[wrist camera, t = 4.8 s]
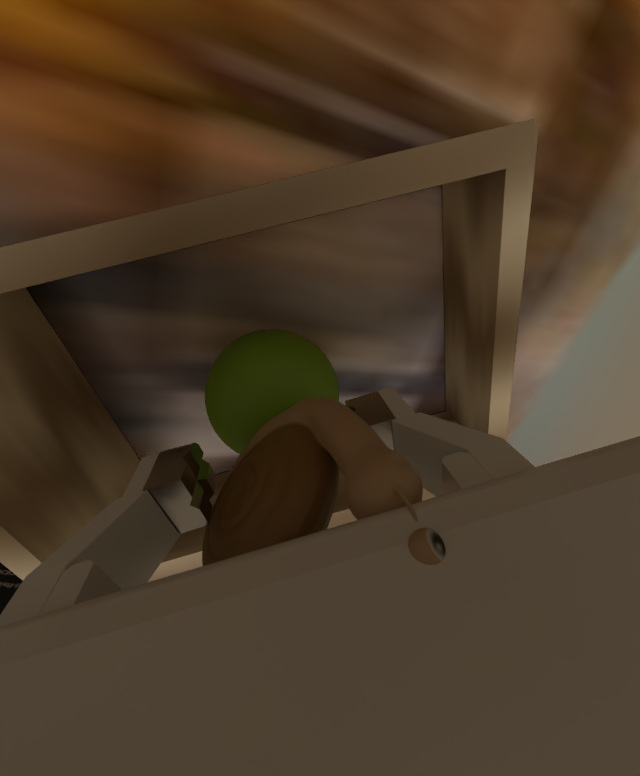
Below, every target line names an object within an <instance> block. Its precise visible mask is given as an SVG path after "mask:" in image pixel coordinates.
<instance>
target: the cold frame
mask: <svg viewBox="0 0 640 776" xmlns="http://www.w3.org/2000/svg"><path fill="white" fill-rule="evenodd" d="M538 132H539V122H537V123H534V119H532V120H528V121H523V122H519V123H515V124H511V125H507V126H503V127H499V128H494V129H490V130H486V131H482V132H478V133H474V134H469V135H465V136H461V137H457V138H453V139H449V140H445V141H440V142H436V143H432V144H428V145H424V146H420V147H415V148H411V149H407V150H403V151H399V152H395V153H391V154H386V155H382V156H378V157H374V158H370V159H366V160H362V161H357V162H353V163H349V164H345V165H341V166H337V167H332V168H328V169H324V170H320V171H316V172H312V173H308V174H303V175H299V176H295V177H291V178H287V179H283V180H279V181H274V182H270V183H266V184H262V185H258V186H254V187H249V188H245V189H241V190H237V191H233V192H229V193H225V194H220V195H216V196H212V197H208V198H204V199H200V200H195V201H191V202H187V203H183V204H179V205H175V206H171V207H166V208H162V209H158V210H154V211H150V212H146V213H142V214H137V215H133V216H129V217H125V218H121V219H117V220H112V221H108V222H104V223H100V224H96V225H92V226H88V227H83V228H79V229H75V230H71V231H67V232H63V233H59V234H54V235H50V236H46V237H42V238H38V239H34V240H29V241H25V242H21V243H17V244H13V245H9V246H5V247H0V562H1V563H2V564H3V565H4V566H6V567H7V568H8V569H9V570H10V571H12V572H13V573H14V574H15V575H17V576H18V577H19V578H20V579H21V580H24V579H25V577H26V576H27V575H28V574H30V573H31V572H32V571H33V570H34V569H35V568H37V567H38V566H39V565H40V564H41V563H42V562H44V561H45V560H46V559H47V558H48V557H49V556H50V555H52V554H53V553H54V552H55V551H56V550H57V549H59V548H60V547H61V546H62V545H63V544H64V543H66V542H67V541H68V540H69V539H70V538H71V537H73V536H74V535H75V534H76V533H77V532H78V531H80V530H81V529H82V528H83V527H84V526H85V525H86V524H88V523H89V522H90V521H91V520H92V519H93V518H95V517H96V516H97V515H98V514H99V513H100V512H102V511H103V510H104V509H105V508H106V507H107V506H109V505H110V504H111V503H112V502H113V501H114V500H116V499H117V498H121V497H122V496H123V494H124V492H125V490H126V488H127V487H128V485H129V483H130V481H131V479H132V477H133V475H134V473H135V471H136V469H137V467H138V465H139V463H140V459H139V458H138V456H137V455H136V453H135V452H134V450H133V449H132V447H131V446H130V444H129V443H128V441H127V440H126V438H125V437H124V435H123V434H122V432H121V431H120V429H119V428H118V426H117V425H116V423H115V422H114V420H113V419H112V417H111V416H110V414H109V413H108V411H107V410H106V408H105V407H104V405H103V404H102V402H101V401H100V399H99V398H98V396H97V395H96V393H95V392H94V390H93V389H92V387H91V386H90V384H89V383H88V381H87V380H86V378H85V377H84V375H83V374H82V372H81V371H80V369H79V368H78V366H77V365H76V363H75V361H74V360H73V358H72V357H71V355H70V354H69V352H68V351H67V349H66V348H65V346H64V345H63V343H62V342H61V340H60V339H59V337H58V336H57V334H56V333H55V331H54V330H53V328H52V327H51V325H50V324H49V322H48V321H47V319H46V318H45V316H44V315H43V313H42V312H41V310H40V309H39V307H38V306H37V304H36V303H35V301H34V300H33V298H32V297H31V295H30V294H29V292H28V291H27V289H26V287H30V286H34V285H38V284H42V283H46V282H51V281H55V280H59V279H63V278H67V277H71V276H75V275H79V274H83V273H87V272H91V271H95V270H99V269H103V268H107V267H111V266H115V265H119V264H123V263H127V262H132V261H136V260H140V259H144V258H148V257H152V256H156V255H160V254H164V253H168V252H172V251H176V250H180V249H184V248H188V247H192V246H196V245H200V244H204V243H208V242H213V241H217V240H221V239H225V238H229V237H233V236H237V235H241V234H245V233H249V232H253V231H257V230H261V229H265V228H269V227H273V226H277V225H281V224H285V223H289V222H294V221H298V220H302V219H306V218H310V217H314V216H318V215H322V214H326V213H330V212H334V211H338V210H342V209H346V208H350V207H354V206H358V205H362V204H366V203H370V202H375V201H379V200H383V199H387V198H391V197H395V196H399V195H403V194H407V193H411V192H415V191H419V190H423V189H427V188H431V187H435V186H439V185H442V204H443V264H444V324H445V384H446V411H444V412H440V413H437V414H433V415H430V416H433V417H437V418H440V419H443V420H446V421H449V422H453V423H456V424H459V425H462V426H465V427H469V428H472V429H475V430H478V431H481V432H485V433H488V434H491V435H494V436H497V437H501V438H503V439H504V440H505V441H506V438H507V428H508V418H509V409H510V399H511V390H512V380H513V371H514V361H515V352H516V342H517V332H518V323H519V313H520V304H521V294H522V285H523V275H524V265H525V256H526V246H527V237H528V227H529V218H530V208H531V198H532V189H533V179H534V170H535V160H536V151H537V141H538ZM338 470H339V484H338V493H337V498H336V503H335V508H334V511H333V514H332V517H331V520H330V522H329V525H328V528H327V529H329V528H333V527H336V526H339V525H343V524H346V523H350V522H353V521H356V520H357V519H356V518H355V517H354V515H353V514H352V513H351V511H350V509H349V507H348V504H347V501H346V496H345V476H344V474H343V472H342V471H341V469H340V468H339V466H338ZM230 472H231V471H228V472H225V473H221V474H217V475H214V476H215V484H216V487H215V494H214V495H213V496H212V497H211V498H210V502H211V504H212V508H213V506H214V503H215V501H216V499H217V497H218V495H219V493H220V491H221V489H222V487H223V485H224V483H225V482H226V480H227V478H228V477H229V475H230ZM434 497H436V496H435V495H433V494H432V493H430V492H429V491H427V490H426V489H424V488H423V494H422V501H424V500H427V499H431V498H434ZM206 526H207V525H206ZM206 526H203V527H200V528H197V529H194V530H191V531H187V532H184V533H181V534H179V535H180V536H179V538H178V539H177V541H176V542H175V543H174V545H173V546H172V548H171V549H170V551H169V552H168V554H167V555H166V556H165V558H164V559H163V561H162V562H161V564H160V565H159V567H158V568H157V569H156V571H155V572H154V574H153V575H152V577H151V578H150V579H149V581H152V580H156V579H159V578H163V577H166V576H170V575H173V574H177V573H180V572H183V571H187V570H190V569H194V568H197V567H201V566H203V565H202V546H203V539H204V533H205V529H206ZM149 581H148V582H149Z"/></svg>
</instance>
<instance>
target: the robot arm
mask: <svg viewBox="0 0 640 776" xmlns="http://www.w3.org/2000/svg"><path fill="white" fill-rule="evenodd" d="M345 403H346V406H347V407H348V408H350V409H351V410H352V411H354V412H355V413H356V414H357V415H358V416H359V417H360V418H361V419H363V420H364V421H365V422H366V423H367V424H368V425H369V426H370V427H371V428H372V429H373V430H374V431H375V432H376V433H377V434H378V436H379V437H380V438H381V439H382V441H383V442H384V443H385V445H386V446H387V447H388V448H389V449H391V450H393V451H396V452H398V453H400V454H401V455H403V456H404V457H405V458H406V459H407V460H408V462H409V463H410V465H411V467H412V468H413V469H414V470H416V471H417V473H418V474H419V476H420V478H421V481H422V486H423V488H424V489H426V490H427V491H429V492H430V493H432V494H433V495H435V496H436V497H434V498H431V499H427V500H424V501H421V502H417V503H414V504H411V505H412V507H413V509H414V511H415V513H416V515H417V518H418V522H416V521H415V520H414V518H413V517H412V515H411V513H410V511H409V509H408V508H407V506H404V507H400V508H397V509H394V510H390V511H387V512H383V513H380V514H377V515H373V516H370V517H367V518H363V519H360V520H356V521H353V522H350V523H346V524H343V525H339V526H336V527H333V528H329V529H326V530H322V531H319V532H316V533H312V534H309V535H306V536H302V537H299V538H296V539H292V540H289V541H285V542H282V543H279V544H275V545H272V546H269V547H265V548H262V549H259V550H255V551H252V552H249V553H245V554H242V555H239V556H235V557H232V558H229V559H225V560H222V561H218V562H215V563H212V564H208V565H205V566H202V567H198V568H195V569H192V570H188V571H185V572H182V573H178V574H175V575H172V576H168V577H165V578H161V579H158V580H155V581H151V582H148V581H149V579H150V578H151V577H152V575H153V574H154V572H155V571H156V569H157V568H158V567H159V565H160V564H161V562H162V561H163V559H164V558H165V556H166V555H167V554H168V552H169V551H170V549H171V548H172V546H173V545H174V543H175V542H176V541H177V539H178V538H179V536H180V535H179V534H181V533H184V532H187V531H191V530H194V529H197V528H200V527H203V526H206V525H209V522H210V516H211V511H212V504H211V502H210V498H211V497H212V496H213V495H214V494H215V487H216V484H215V476H214V473H213V470H212V468H211V466H210V464H209V463H207V462H205V461H203V460H202V457H203V451H202V449H201V448H200V446H199V445H198V444H196V443H192V444H188V445H184V446H180V447H176V448H172V449H168V450H165V451H162V452H157V453H153V454H150V455H147V456H145V457H143V458H142V459H141V461H140V463H139V465H138V467H137V469H136V471H135V473H134V475H133V477H132V479H131V481H130V483H129V485H128V487H127V488H126V490H125V492H124V494H123V496H122V497H121V498H117V499H116V500H114V501H113V502H112V503H111V504H110V505H109V506H107V507H106V508H105V509H104V510H103V511H102V512H100V513H99V514H98V515H97V516H96V517H95V518H93V519H92V520H91V521H90V522H89V523H88V524H86V525H85V526H84V527H83V528H82V529H81V530H80V531H78V532H77V533H76V534H75V535H74V536H73V537H71V538H70V539H69V540H68V541H67V542H66V543H64V544H63V545H62V546H61V547H60V548H59V549H57V550H56V551H55V552H54V553H53V554H52V555H50V556H49V557H48V558H47V559H46V560H45V561H44V562H42V563H41V564H40V565H39V566H38V567H37V568H35V569H34V570H33V571H32V572H31V573H30V574H28V575H27V576H26V577H25V579H24V580H23V582H22V583H21V585H20V586H19V588H18V589H17V591H16V592H15V594H14V595H13V597H12V598H11V600H10V601H9V603H8V604H7V606H6V607H5V609H4V610H3V612H2V613H1V615H0V776H640V436H639V437H635V438H632V439H628V440H625V441H622V442H619V443H615V444H612V445H608V446H605V447H602V448H598V449H595V450H592V451H588V452H585V453H581V454H578V455H575V456H572V457H568V458H565V459H561V460H558V461H555V462H551V463H548V464H545V465H541V466H538V467H534V466H533V465H532V464H531V463H530V462H529V461H528V460H527V459H525V458H524V457H523V456H522V455H521V454H520V453H519V452H518V451H516V450H515V449H514V448H513V447H512V446H511V445H510V444H509V443H508V442H506V441H505V440H504V439H503V438H501V437H497V436H494V435H491V434H488V433H485V432H481V431H478V430H475V429H472V428H469V427H465V426H462V425H459V424H456V423H453V422H449V421H446V420H443V419H440V418H437V417H433V416H430V415H427V414H424V413H421V412H419V413H414V412H413V410H412V409H411V408H410V407H409V406H408V404H407V403H406V402H405V401H404V399H403V398H402V397H401V396H400V395H399V393H398V392H397V391H396V390H395V388H394V387H388V388H385V389H382V390H379V391H376V392H373V393H370V394H366V395H363V396H360V397H357V398H353V399H350V400H347V401H345ZM419 528H431V529H433V530H435V531H436V532H437V533H438V534H439V535H440V537H441V538H442V540H443V542H444V545H445V550H446V554H445V558H444V560H443V561H441V562H440V563H439V564H436V565H427V564H423V563H421V562H419V561H418V560H416V559H415V558H414V557H413V556H412V554H411V553H410V551H409V548H408V539H409V536H410V535H411V534H412V533H413V532H414V531H415V530H417V529H419ZM147 582H148V583H147Z"/></svg>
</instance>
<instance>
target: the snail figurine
mask: <svg viewBox="0 0 640 776" xmlns="http://www.w3.org/2000/svg"><path fill="white" fill-rule="evenodd" d="M205 405H206V410H207V414H208V417H209V420H210V423H211V425H212V427H213V428H214V430H215V432H216V433H217V435H218V436H219V437H220V438H221V440H222V441H223V442H224V443H225V444H226V445H227V446H229V447H230V448H231V449H232V450H234V451H235V452H237V453H239V454H240V455H239V457H238V459H237V460H236V462H235V464H234V466H233V468H232V470H231V472H230V475H229V477H228V478H227V480H226V482H225V483H224V485H223V487H222V489H221V491H220V493H219V495H218V497H217V499H216V501H215V503H214V506H213V508H212V511H211V516H210V522H209V525H207V526H206V529H205V533H204V539H203V546H202V565H203V566H205V565H208V564H212V563H215V562H218V561H222V560H225V559H229V558H232V557H235V556H239V555H242V554H245V553H249V552H252V551H255V550H259V549H262V548H265V547H269V546H272V545H275V544H279V543H282V542H285V541H289V540H292V539H296V538H299V537H302V536H306V535H309V534H312V533H316V532H319V531H322V530H326V529H327V528H328V525H329V522H330V520H331V517H332V514H333V511H334V508H335V503H336V498H337V493H338V484H339V470H338V466H339V468H340V469H341V471H342V472H343V474H344V476H345V496H346V501H347V504H348V507H349V509H350V511H351V513H352V514H353V515H354V517H355V518H356V519H357V520H360V519H363V518H367V517H370V516H373V515H377V514H380V513H383V512H387V511H390V510H394V509H397V508H400V507H404V506H407V508H408V509H409V511H410V513H411V515H412V517H413V518H414V520H415V521H416V522H418V518H417V515H416V513H415V511H414V509H413V507H412V505H411V504H414V503H417V502H421V501H422V494H423V486H422V481H421V478H420V476H419V474H418V473H417V471H416V470H414V469H413V468H412V467H411V465H410V463H409V462H408V460H407V459H406V458H405V457H404V456H403V455H401V454H400V453H398V452H396V451H393V450H391V449H389V448H388V447H387V446H386V445H385V443H384V442H383V441H382V439H381V438H380V437H379V436H378V434H377V433H376V432H375V431H374V430H373V429H372V428H371V427H370V426H369V425H368V424H367V423H366V422H365V421H364V420H363V419H361V418H360V417H359V416H358V415H357V414H356V413H355V412H354V411H352V410H351V409H350V408H348V407H347V406H345V405H344V404H342V403H340V402H339V388H338V382H337V378H336V375H335V372H334V369H333V367H332V365H331V363H330V362H329V360H328V358H327V357H326V356H325V354H324V353H323V352H322V351H321V350H320V349H319V348H318V347H317V346H316V345H315V344H313V343H312V342H311V341H309V340H308V339H306V338H304V337H302V336H300V335H298V334H295V333H292V332H289V331H284V330H274V329H271V330H260V331H256V332H252V333H249V334H247V335H244V336H242V337H240V338H238V339H237V340H235V341H234V342H232V343H231V344H230V345H228V346H227V347H226V348H225V349H224V350H223V351H222V352H221V353H220V355H219V356H218V357H217V359H216V360H215V362H214V363H213V365H212V367H211V369H210V372H209V375H208V378H207V382H206V387H205ZM408 548H409V551H410V553H411V554H412V556H413V557H414V558H415V559H416V560H418V561H419V562H421V563H423V564H427V565H436V564H439V563H440V562H441V561H443V560H444V558H445V554H446V550H445V545H444V542H443V540H442V538H441V537H440V535H439V534H438V533H437V532H436V531H435V530H433V529H431V528H419V529H417V530H415V531H414V532H413V533H412V534H411V535H410V536H409V539H408Z"/></svg>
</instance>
